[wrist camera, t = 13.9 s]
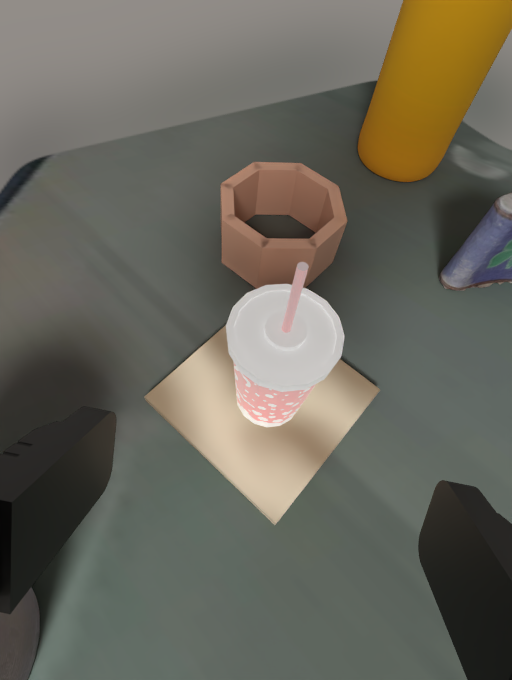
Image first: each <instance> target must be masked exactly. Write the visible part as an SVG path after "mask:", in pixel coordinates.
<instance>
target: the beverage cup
mask: <svg viewBox="0 0 512 680" xmlns="http://www.w3.org/2000/svg"><path fill="white" fill-rule="evenodd" d="M308 268H309V266H308V264H307V263H305V262H299V263H298V264H297V268H296V272H295V276H294V280H293V284H292V285H290V284H274V285H265V286H262V287H260V288H258V289H255V290H253V291H250V292H248V293H246V294H245V295H244V296H243V297H242V298H241V299H240V300H239V301H238V302H237V303H236V304H235V305H234V306H233V308H232V310H231V313H230V316H229V319H228V321H227V324H226V333H227V342H228V351H229V355H230V356H231V358H232V360H233V362H234V373H235V385H236V396H237V404H238V407H239V408H240V410H241V412H242V413H243V415H244V416H245V417H246V418H247V419H249V420H250V421H251V422H253V423H254V424H257V425H260V426H264V427H274V426H280V425H282V424H284V423H286V422H288V421H289V420H291V419H292V417H293V416H294V415H295V413H296V412H297V411H298V409H299V408H300V406H301V405H302V404H303V402H304V401H305V399H306V398H307V396H308V395H309V394H310V392H311V391H312V389H313V388H314V386H315V385H316V384H317V383H319V382H320V381H322V380H324V379H325V378H326V377H327V375H328V374H329V373H330V371H331V370H332V369H333V367H334V366H335V365H336V363H337V362H338V360H339V359H340V358H341V355H342V349H343V343H344V338H345V336H344V332H343V329H342V325H341V322H340V318H339V316H338V315H337V314H336V312H335V311H334V310H333V308H332V307H331V306H330V305H329V303H328V302H327V301H326V300H325V299H323V298H321V297H320V296H318V295H317V294H315V293H314V292H312V291H310V290H309V289H306V288H303V285H304V282H305V278H306V275H307V271H308Z"/></svg>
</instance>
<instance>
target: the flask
mask: <svg viewBox="0 0 512 680" xmlns="http://www.w3.org/2000/svg"><path fill="white" fill-rule="evenodd" d="M440 275H441V280H440ZM440 275H439V281H440V282H441V284H443V286H444V288H445V289H451V290H456V291H459V290H461V291H463V290H464V291H465V290H466V288H473V287H478V288H481V287H483V288H485V287H489V286H490V285H492V284H493V283H498V284H502V283H503V282H510V283H512V193H509V194H507V195H503V196H501V197H499V198H498V199H496V201H495V202H494V204H493V205H492V206H491V208H490V209H489V211H488V212H487V213H486V215H485V216H484V217H483V218H482V220H481V221H480V223H479V224H478V225H477V226H476V228H475V229H474V230H473V232H472V233H471V234H470V236H469V237H468V238H467V240H466V241H465V242H464V244H463V245H462V246H461V248H460V249H459V250H458V251H457V252H456V254H455V255H454V256H453V257H452V259H451V260H450V261H449V263H448V264H447V265H446V266H445V268H444V269H443V270H442V272H441V273H440Z"/></svg>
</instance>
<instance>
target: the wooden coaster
mask: <svg viewBox="0 0 512 680" xmlns="http://www.w3.org/2000/svg"><path fill="white" fill-rule="evenodd" d="M379 391H380V389H379V388H377V387H376V386H375V385H374V384H372V383H371V382H370V381H368V380H367V379H366V378H364V377H363V376H362V375H360V374H359V373H358V372H356V371H355V370H354V369H353V368H351V367H350V366H349V365H347V364H346V363H345V362H343V361H342V360H341V359H339V360H338V362H337V363H336V365H335V366H334V367H333V369H332V370H331V371H330V373H329V374H328V375H327V377H326V378H325V379H324V380H322V381H320V382H319V383H317V384H316V385H315V386H314V388H313V389H312V391H311V392H310V394H309V395H308V396H307V398H306V399H305V401H304V402H303V404H302V405H301V406H300V408H299V409H298V411H297V412H296V413H295V415H294V416H293V417H292V419H291V420H289V421H288V422H286V423H284V424H282V425H280V426H274V427H264V426H260V425H257V424H254V423H253V422H251V421H250V420H249V419H247V418H246V417H245V416H244V415H243V413H242V412H241V410H240V408H239V407H238V404H237V396H236V385H235V373H234V362H233V360H232V358H231V356H230V355H229V351H228V342H227V333H226V325H225V326H224V327H223V328H222V329H221V330H220V331H218V332H217V333H216V334H215V335H214V336H213V337H212V338H210V339H209V340H208V341H207V342H206V343H205V344H204V345H203V346H201V347H200V348H199V349H198V350H197V351H196V352H195V353H193V354H192V355H191V356H190V357H189V358H188V359H187V360H185V361H184V362H183V363H182V364H181V365H180V366H179V367H178V368H176V369H175V370H174V371H173V372H172V373H171V374H170V375H168V376H167V377H166V378H165V379H164V380H163V381H162V382H161V383H159V384H158V385H157V386H156V387H155V388H154V389H153V390H151V391H150V392H149V393H148V394H147V395H146V396H145V399H146V401H147V402H148V403H149V404H150V405H151V406H152V407H153V408H154V409H155V410H156V411H157V412H158V413H159V414H160V415H161V416H162V417H163V418H164V419H165V420H167V421H168V422H169V423H170V424H171V425H172V426H173V427H174V428H175V429H176V430H177V431H178V432H179V433H180V434H181V435H182V436H183V437H184V438H185V439H186V440H187V441H188V442H189V443H190V444H191V445H192V446H193V447H194V448H195V449H197V450H198V451H199V452H200V453H201V454H202V455H203V456H204V457H205V458H206V459H207V460H208V461H209V462H210V463H211V464H212V465H213V466H214V467H215V468H216V469H217V470H218V471H219V472H220V473H221V474H222V475H223V476H224V477H225V478H227V479H228V480H229V481H230V482H231V483H232V484H233V485H234V486H235V487H236V488H237V489H238V490H239V491H240V492H241V493H242V494H243V495H244V496H245V497H246V498H247V499H248V500H249V501H250V502H251V503H252V504H253V505H254V506H255V507H257V508H258V509H259V510H260V511H261V512H262V513H263V514H264V515H265V516H266V517H267V518H268V519H269V520H270V521H271V522H272V523H273V524H274V525H275V524H276V523H277V522H278V521H279V519H280V518H281V517H282V516H283V514H284V513H285V512H286V510H287V509H288V508H289V507H290V505H291V504H292V503H293V501H294V500H295V499H296V498H297V496H298V495H299V494H300V492H301V491H302V490H303V489H304V487H305V486H306V485H307V483H308V482H309V481H310V480H311V478H312V477H313V476H314V474H315V473H316V472H317V471H318V469H319V468H320V467H321V465H322V464H323V463H324V462H325V460H326V459H327V458H328V456H329V455H330V454H331V452H332V451H333V450H334V449H335V447H336V446H337V445H338V443H339V442H340V441H341V440H342V438H343V437H344V436H345V434H346V433H347V432H348V431H349V429H350V428H351V427H352V425H353V424H354V423H355V422H356V420H357V419H358V418H359V416H360V415H361V414H362V413H363V411H364V410H365V409H366V407H367V406H368V405H369V404H370V402H371V401H372V400H373V398H374V397H375V396H376V395H377V393H378V392H379Z"/></svg>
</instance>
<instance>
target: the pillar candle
mask: <svg viewBox="0 0 512 680" xmlns="http://www.w3.org/2000/svg"><path fill="white" fill-rule="evenodd" d="M39 632H40V613H39V606H38V602H37V598H36V596H35V593H34V591H33V589H32V587H31V588H30V589H29V591H28V592H27V593H26V594H25V596H24V597H23V598H22V600H21V601H20V602H19V604H18V605H17V606H16V608H15V609H14V610H13V611H12V613H11V614H5V613H1V612H0V680H28V677H29V674H30V672H31V669H32V665H33V663H34V659H35V656H36V650H37V646H38V642H39Z"/></svg>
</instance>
